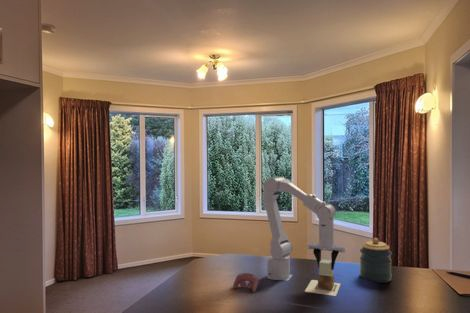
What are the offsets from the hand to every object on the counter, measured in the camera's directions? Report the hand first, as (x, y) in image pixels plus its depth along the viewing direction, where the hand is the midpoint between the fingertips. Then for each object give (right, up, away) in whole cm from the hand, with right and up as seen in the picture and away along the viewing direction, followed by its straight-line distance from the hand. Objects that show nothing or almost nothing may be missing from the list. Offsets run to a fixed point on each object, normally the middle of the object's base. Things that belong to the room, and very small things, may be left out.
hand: (326, 268), depth 152 cm
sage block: (0, -2, 0) cm, 2 cm away
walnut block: (0, -8, 0) cm, 8 cm away
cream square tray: (-1, -8, 0) cm, 8 cm away
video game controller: (-32, -9, 0) cm, 33 cm away
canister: (+24, -8, +12) cm, 28 cm away
